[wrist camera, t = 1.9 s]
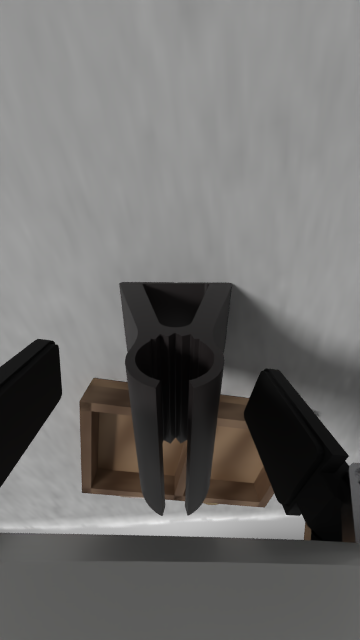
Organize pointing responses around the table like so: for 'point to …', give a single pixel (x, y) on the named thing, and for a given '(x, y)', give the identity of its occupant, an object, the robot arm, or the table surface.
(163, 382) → the phone stand
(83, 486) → the bay board
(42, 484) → the table surface
